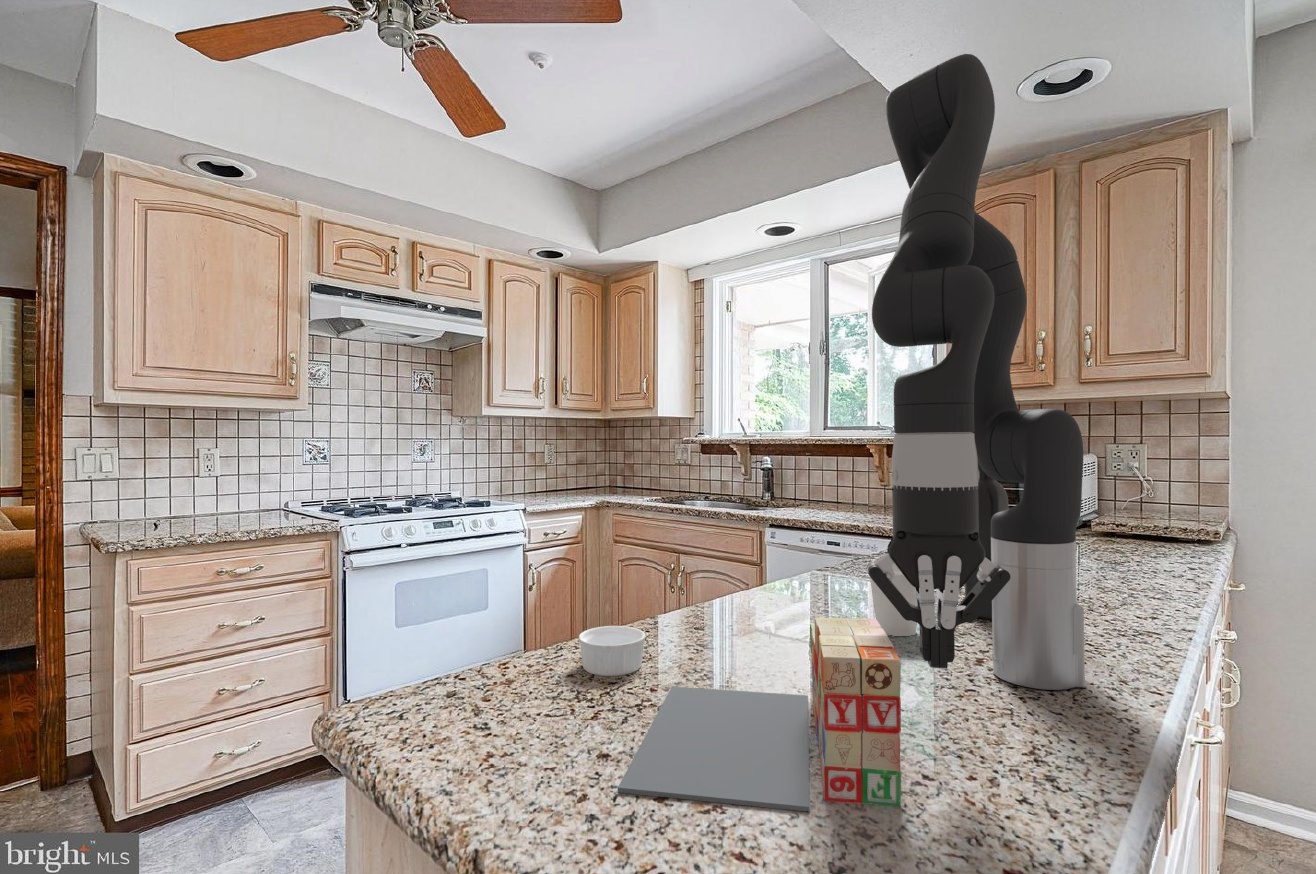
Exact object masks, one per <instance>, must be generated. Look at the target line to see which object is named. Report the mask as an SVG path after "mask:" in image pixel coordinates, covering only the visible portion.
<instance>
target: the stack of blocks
mask: <svg viewBox="0 0 1316 874" xmlns="http://www.w3.org/2000/svg"><path fill="white" fill-rule="evenodd" d="M809 633H810V634H809V639H810V640H809V647H810V653H811V655H810V656H811V680H812V690H811V691H812V704H813V706H812V707H813V719H814V718H815V719H814V724H815V725H814V728H815V733H816V737H817V743H818V750H819V756H820V758H819V759H820V772H821V781H822V782H821V783H822V785H821V786H822V794H823V800H824V801H825V800H827V802H836V803H837V802H840V803H849V802H850V803H851V804H852V803H853V804H866V803H872V804H871V805H878V804H880V805H879V806H892V807H901V806H902V770H901V769H902V768H901V735H900V734H901V732H902V720H901V719H902V714H901V713H902V707H901V703H902V702H901V699H902V698H901V684H902V683H901V676H902V675H901V674H902V673H901V672H902V671H901V669H902V664H901V663H902V661H901V659H900V657H899V655H898V652H896V650H895V646H894V644H893V643H892V641H891V639H890V638H889V637H888V635H887V634H886V633H885V631H884V630H883V628H881V626H880V624H879V622H878V621H877V619H876V618H854V617H853V618H850V617H847V618H846V617H814V622H810V623H809Z"/></svg>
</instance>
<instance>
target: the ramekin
mask: <svg viewBox="0 0 1316 874" xmlns="http://www.w3.org/2000/svg"><path fill="white" fill-rule="evenodd" d="M645 640H646V633H645V632H644V631H643V630H641V629H639V628H636V627H632V626H627V625H625V626H624V625H606V626H605V625H604V626H598V627H593V628H588V629H587V630H584V631H582V632H581V633H580V634H579V635H578V641H579V644H580V652H581V653H580V654H581V664H582V667H583V670H585V671H586V672H587V673H589V674H592V675H595V676H603V677H615V676H616V677H618V676H625V675H629V674H631V673H635V672H637V671H638V670H639V669H640V668H641V667H642V664H643V658H644V657H643V655H644V643H645Z"/></svg>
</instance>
